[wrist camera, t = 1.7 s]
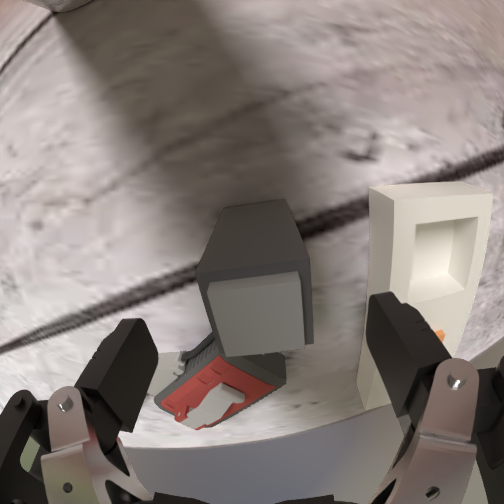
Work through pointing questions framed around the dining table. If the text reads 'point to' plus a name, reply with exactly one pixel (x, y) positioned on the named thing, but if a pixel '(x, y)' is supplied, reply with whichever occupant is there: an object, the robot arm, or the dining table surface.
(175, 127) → the dining table surface
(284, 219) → the plug
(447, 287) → the power strip
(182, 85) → the dining table surface
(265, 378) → the walkie-talkie
